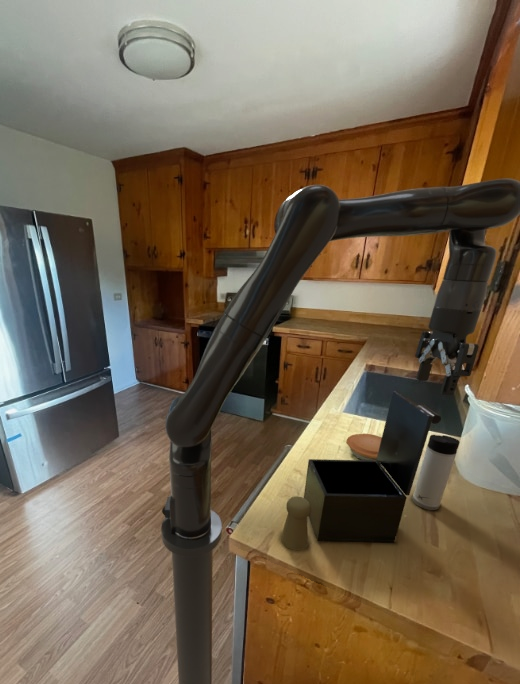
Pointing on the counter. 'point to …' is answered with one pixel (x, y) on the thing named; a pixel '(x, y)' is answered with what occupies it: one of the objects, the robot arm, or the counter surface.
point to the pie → (364, 446)
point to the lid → (404, 439)
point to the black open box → (353, 501)
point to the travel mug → (435, 471)
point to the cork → (296, 523)
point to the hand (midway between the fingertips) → (433, 386)
